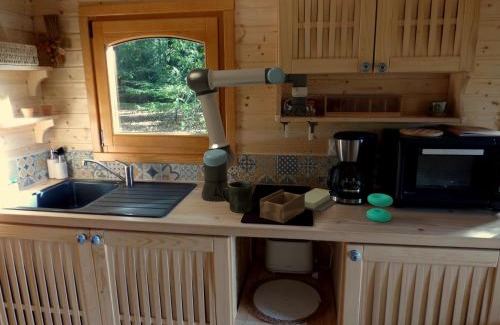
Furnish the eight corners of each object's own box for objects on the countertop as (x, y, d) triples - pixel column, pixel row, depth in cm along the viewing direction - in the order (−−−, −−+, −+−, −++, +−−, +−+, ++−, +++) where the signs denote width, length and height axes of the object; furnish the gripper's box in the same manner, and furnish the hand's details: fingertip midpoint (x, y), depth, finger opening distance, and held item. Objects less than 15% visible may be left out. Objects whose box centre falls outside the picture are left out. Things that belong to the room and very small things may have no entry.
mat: (286, 204, 169) (286, 203, 168) (311, 191, 189) (311, 189, 189) (321, 212, 158) (321, 211, 158) (343, 197, 179) (343, 196, 178)
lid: (294, 204, 167) (294, 199, 166) (315, 192, 184) (315, 188, 184) (313, 208, 161) (314, 203, 161) (333, 196, 178) (334, 191, 178)
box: (259, 217, 153) (260, 199, 151) (281, 205, 167) (282, 189, 165) (283, 223, 146) (284, 204, 144) (304, 210, 160) (304, 193, 158)
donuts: (369, 199, 145) (366, 192, 154) (367, 222, 147) (364, 213, 156) (395, 200, 143) (390, 193, 152) (393, 223, 145) (388, 215, 155)
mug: (249, 214, 156) (249, 188, 153) (218, 211, 160) (217, 186, 157) (255, 206, 166) (255, 182, 163) (226, 204, 170) (225, 179, 167)
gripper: (274, 95, 180) (273, 137, 185) (319, 96, 165) (317, 141, 170) (281, 95, 186) (281, 135, 191) (326, 96, 171) (324, 139, 176)
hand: (298, 138), depth 180 cm, fingers open, 13 cm apart
